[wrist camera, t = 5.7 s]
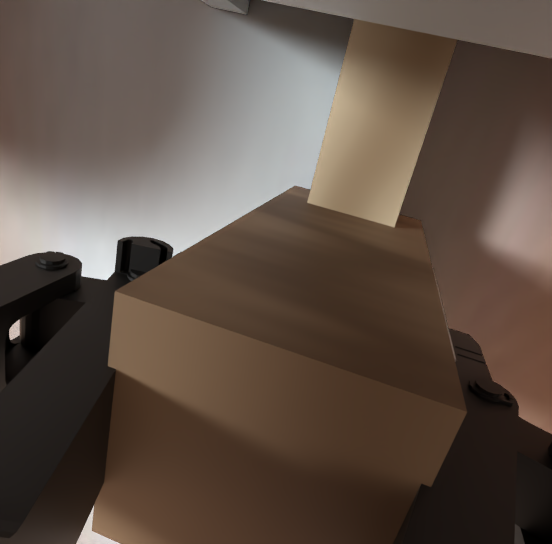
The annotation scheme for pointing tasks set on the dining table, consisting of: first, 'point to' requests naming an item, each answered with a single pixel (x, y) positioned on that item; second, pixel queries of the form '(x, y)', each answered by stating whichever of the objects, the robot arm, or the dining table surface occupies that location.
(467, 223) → the dining table surface
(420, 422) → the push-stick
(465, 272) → the dining table surface
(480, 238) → the dining table surface
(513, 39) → the cabinet
